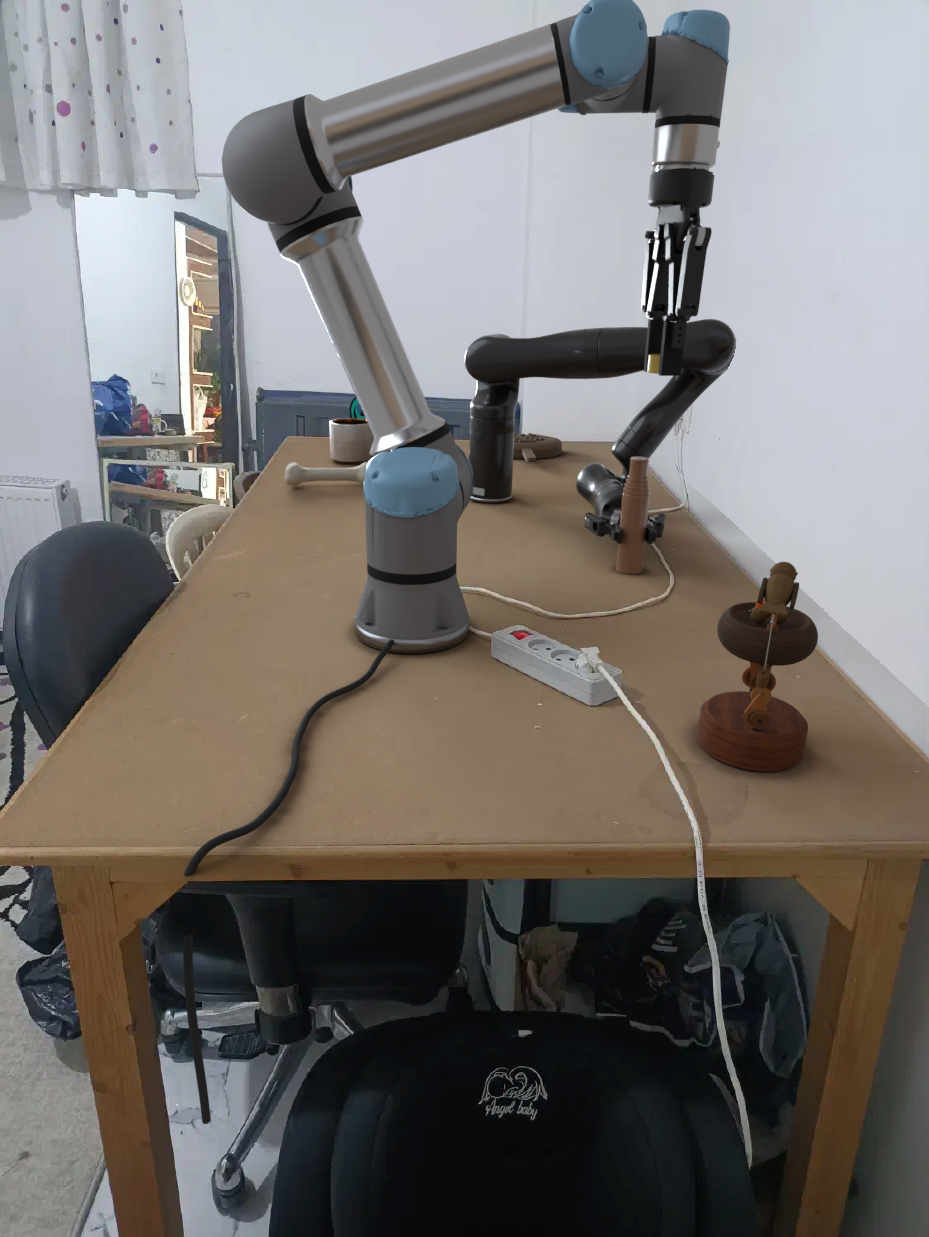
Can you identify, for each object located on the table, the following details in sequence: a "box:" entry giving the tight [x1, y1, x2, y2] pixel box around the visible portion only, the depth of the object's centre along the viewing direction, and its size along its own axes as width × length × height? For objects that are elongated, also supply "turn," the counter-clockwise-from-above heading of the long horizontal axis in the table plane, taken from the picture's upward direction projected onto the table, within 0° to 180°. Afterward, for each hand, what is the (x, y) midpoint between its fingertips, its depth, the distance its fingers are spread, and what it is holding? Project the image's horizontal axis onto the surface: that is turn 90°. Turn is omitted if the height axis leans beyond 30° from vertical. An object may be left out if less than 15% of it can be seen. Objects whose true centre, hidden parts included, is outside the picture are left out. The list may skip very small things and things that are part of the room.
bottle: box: [615, 457, 651, 575], centre depth 135 cm, size 4×4×18 cm
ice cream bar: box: [513, 432, 563, 463], centre depth 220 cm, size 21×28×4 cm
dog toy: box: [283, 461, 369, 487], centre depth 188 cm, size 20×6×5 cm, turn 99°
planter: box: [328, 417, 373, 464], centre depth 212 cm, size 11×11×10 cm
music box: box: [696, 561, 819, 772], centre depth 84 cm, size 15×11×20 cm
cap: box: [646, 354, 661, 375], centre depth 109 cm, size 4×4×2 cm
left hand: (661, 373), depth 110 cm, fingers closed on cap, 4 cm apart
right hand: (635, 537), depth 133 cm, fingers closed on bottle, 4 cm apart
